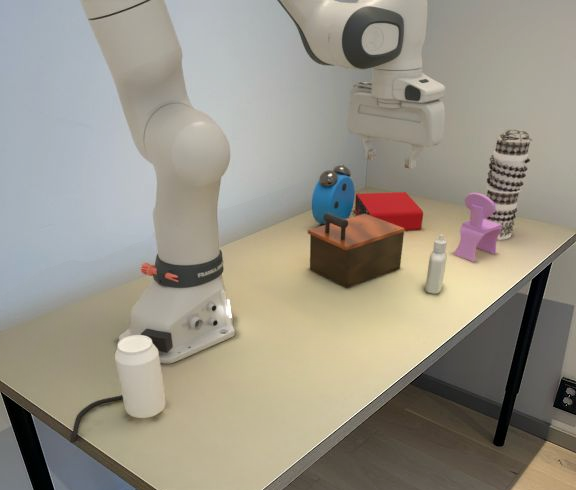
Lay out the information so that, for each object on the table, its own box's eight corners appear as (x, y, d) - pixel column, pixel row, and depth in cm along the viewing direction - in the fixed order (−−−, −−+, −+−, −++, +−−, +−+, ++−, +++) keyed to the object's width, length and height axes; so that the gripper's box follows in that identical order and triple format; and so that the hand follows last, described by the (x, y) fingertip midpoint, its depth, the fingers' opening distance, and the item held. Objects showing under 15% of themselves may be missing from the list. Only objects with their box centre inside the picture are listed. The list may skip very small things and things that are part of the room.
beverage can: (138, 395, 94) (126, 329, 87) (173, 401, 92) (164, 335, 86) (118, 417, 89) (104, 350, 82) (155, 425, 88) (143, 357, 81)
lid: (346, 250, 121) (347, 227, 118) (307, 233, 129) (307, 211, 126) (404, 231, 129) (406, 209, 127) (364, 216, 138) (366, 195, 135)
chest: (346, 288, 126) (349, 249, 121) (309, 269, 134) (310, 232, 129) (400, 269, 134) (404, 231, 129) (361, 252, 143) (364, 217, 138)
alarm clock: (334, 216, 165) (337, 160, 156) (354, 220, 162) (357, 164, 153) (310, 229, 156) (311, 171, 147) (330, 234, 153) (332, 175, 144)
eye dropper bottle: (449, 288, 126) (458, 234, 119) (433, 296, 123) (442, 241, 116) (432, 281, 129) (440, 228, 122) (417, 289, 126) (424, 235, 119)
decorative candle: (493, 225, 158) (513, 126, 144) (520, 235, 152) (544, 133, 137) (468, 231, 154) (486, 130, 140) (495, 242, 148) (517, 137, 133)
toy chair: (500, 254, 141) (514, 192, 133) (477, 263, 137) (490, 199, 128) (472, 244, 147) (484, 183, 138) (449, 252, 142) (460, 190, 134)
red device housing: (354, 210, 168) (356, 193, 166) (403, 208, 170) (404, 191, 167) (368, 232, 154) (370, 213, 151) (421, 230, 155) (423, 211, 152)
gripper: (341, 82, 111) (339, 157, 119) (433, 93, 99) (424, 176, 107) (361, 77, 114) (358, 151, 122) (453, 88, 103) (443, 169, 111)
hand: (390, 163), depth 115 cm, fingers open, 8 cm apart
